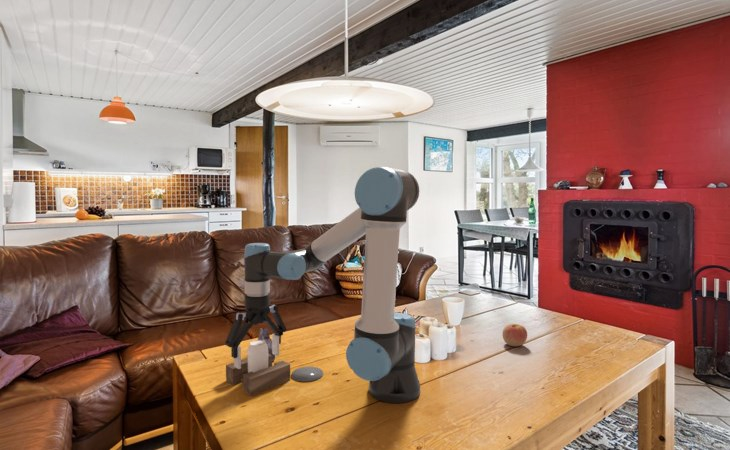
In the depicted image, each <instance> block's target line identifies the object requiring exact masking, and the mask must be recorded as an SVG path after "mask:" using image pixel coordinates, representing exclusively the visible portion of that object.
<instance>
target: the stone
mask: <svg viewBox="0 0 730 450" xmlns="http://www.w3.org/2000/svg"><path fill="white" fill-rule="evenodd" d="M270 337H271V335H270V331H269V328H266V327H262V328H261V327H260V328H259V335H258V337H257V340H264V341H266V344H267V346H268V354H270V355H272V362H273V361H275V359H276V355H274V354H272V338H270Z"/></svg>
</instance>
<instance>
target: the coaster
mask: <svg viewBox="0 0 730 450" xmlns="http://www.w3.org/2000/svg"><path fill="white" fill-rule="evenodd" d="M323 375H324V371H323V370H322V369H321V368H319V367H315V366H301V367H298V368H296V369H294V370H293V371H292V372H291V378H292V379H293V380H295V381H298V382H303V383H307V382H315V381H317V380H319V379H321V378H323Z"/></svg>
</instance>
